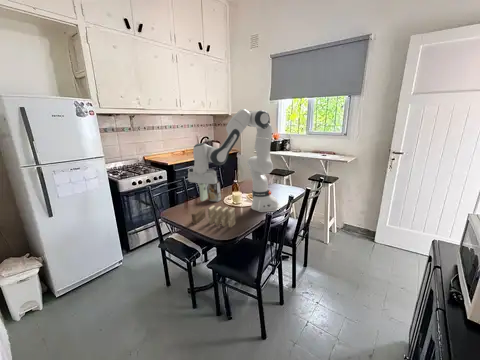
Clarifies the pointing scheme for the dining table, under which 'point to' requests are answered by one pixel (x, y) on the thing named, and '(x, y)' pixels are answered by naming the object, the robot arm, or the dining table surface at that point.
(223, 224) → the maple domino
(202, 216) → the end stop
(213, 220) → the maple domino
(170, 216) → the dining table surface
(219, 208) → the maple domino
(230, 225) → the maple domino
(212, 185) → the coffee box
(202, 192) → the sage domino
